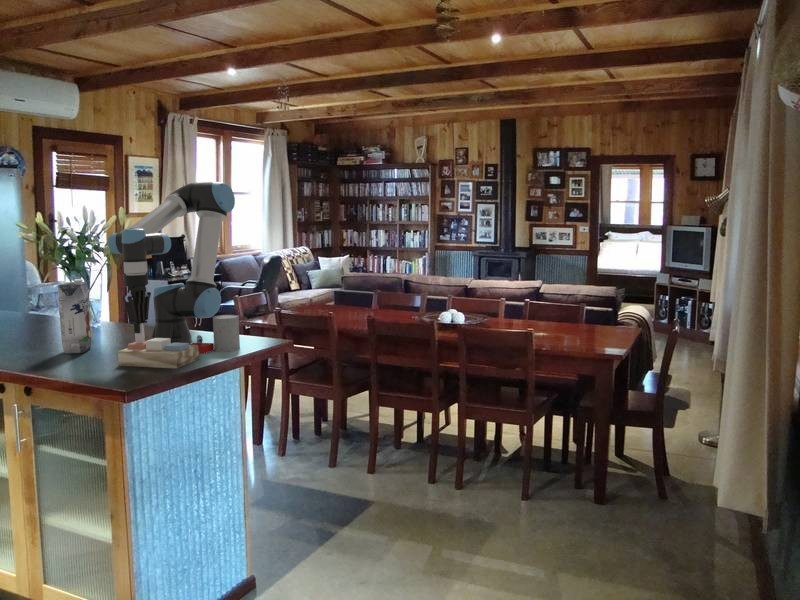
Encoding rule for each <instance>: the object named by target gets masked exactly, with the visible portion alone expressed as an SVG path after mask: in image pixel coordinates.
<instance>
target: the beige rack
mask: <svg viewBox="0 0 800 600" xmlns="http://www.w3.org/2000/svg"><path fill="white" fill-rule="evenodd" d="M199 355H200V353H198V345H189V348H188V349H185V350H183V351H165V349H164V350H146V349H144V350H138V349H128V347H127V348H124V349H120V350H118V351H117V356H118V366H119V367H140V368H142V367H143V368H160V369H161V368H162V369H179V368H182V367H185V366H186V365H189V364H192V363H194V362H196V361H198V360H199V359H200V358H199Z"/></svg>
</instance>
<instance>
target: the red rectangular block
mask: <svg viewBox="0 0 800 600" xmlns="http://www.w3.org/2000/svg"><path fill="white" fill-rule="evenodd" d="M189 345H198V353H199V354H209V353H210V352H212V351H215V350H214V342H204V341H203V336H202V335H200V334H199V335H197V336H196V342H191V343H189Z"/></svg>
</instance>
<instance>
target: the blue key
mask: <svg viewBox="0 0 800 600" xmlns="http://www.w3.org/2000/svg"><path fill="white" fill-rule="evenodd" d="M189 344H190V342H189V343H171V344H168V345H165V351H183V350H185V349H188V348H189Z"/></svg>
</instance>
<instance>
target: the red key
mask: <svg viewBox="0 0 800 600" xmlns="http://www.w3.org/2000/svg"><path fill="white" fill-rule="evenodd" d="M146 341H147V340H145V342H143V343H141V342H135V341H133V342H129V343H128V344H127V348H128V349H138V350H144V349H146Z"/></svg>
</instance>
